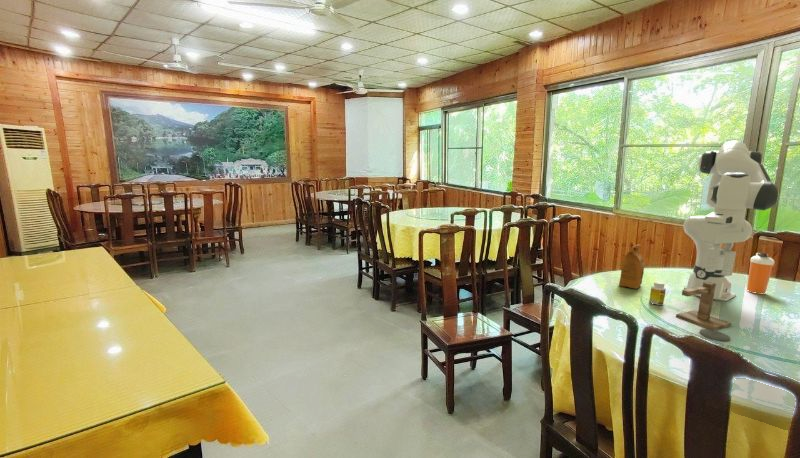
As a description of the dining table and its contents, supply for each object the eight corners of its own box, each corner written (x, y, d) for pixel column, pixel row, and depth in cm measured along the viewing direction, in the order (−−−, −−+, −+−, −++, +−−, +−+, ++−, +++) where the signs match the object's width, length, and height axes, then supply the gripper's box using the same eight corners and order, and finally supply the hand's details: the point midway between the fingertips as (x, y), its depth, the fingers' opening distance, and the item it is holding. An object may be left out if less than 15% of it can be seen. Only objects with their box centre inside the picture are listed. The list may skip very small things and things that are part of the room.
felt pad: (708, 329, 152) (708, 327, 152) (735, 339, 144) (735, 337, 144) (694, 332, 149) (694, 331, 149) (720, 343, 141) (721, 341, 140)
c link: (710, 270, 148) (714, 247, 146) (731, 275, 142) (736, 251, 140) (704, 270, 146) (708, 248, 145) (726, 276, 140) (730, 252, 139)
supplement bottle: (659, 307, 174) (663, 285, 172) (646, 303, 179) (649, 281, 177) (665, 304, 177) (669, 283, 176) (652, 300, 182) (655, 280, 180)
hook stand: (693, 312, 168) (699, 276, 165) (730, 325, 156) (738, 286, 153) (661, 319, 160) (667, 281, 157) (698, 334, 147) (705, 293, 144)
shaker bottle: (748, 293, 197) (756, 255, 193) (741, 288, 205) (748, 251, 201) (771, 296, 193) (779, 257, 190) (762, 290, 201) (770, 253, 198)
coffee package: (645, 286, 204) (651, 245, 200) (637, 291, 195) (643, 248, 191) (624, 281, 211) (629, 241, 207) (615, 285, 203) (621, 244, 199)
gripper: (735, 215, 147) (728, 251, 150) (701, 216, 139) (695, 254, 142) (755, 218, 142) (748, 254, 144) (721, 219, 134) (714, 258, 136)
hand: (721, 254), depth 143 cm, fingers closed on c link, 3 cm apart
